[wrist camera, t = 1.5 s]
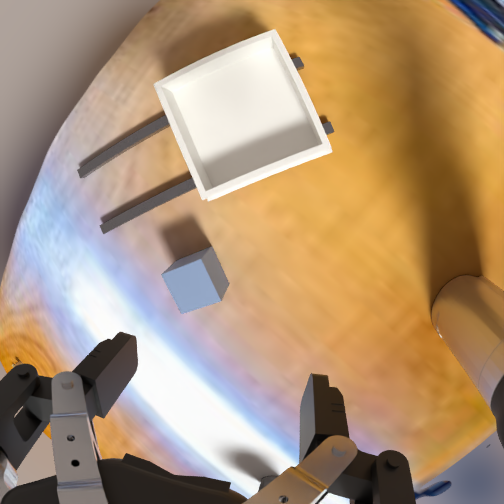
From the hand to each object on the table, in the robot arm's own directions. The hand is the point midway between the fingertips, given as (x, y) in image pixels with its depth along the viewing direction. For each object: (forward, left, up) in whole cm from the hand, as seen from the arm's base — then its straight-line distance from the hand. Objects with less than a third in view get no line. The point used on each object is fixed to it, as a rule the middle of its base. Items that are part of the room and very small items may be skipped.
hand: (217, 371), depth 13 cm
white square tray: (-4, -13, -22) cm, 26 cm away
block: (+8, +1, -24) cm, 25 cm away
